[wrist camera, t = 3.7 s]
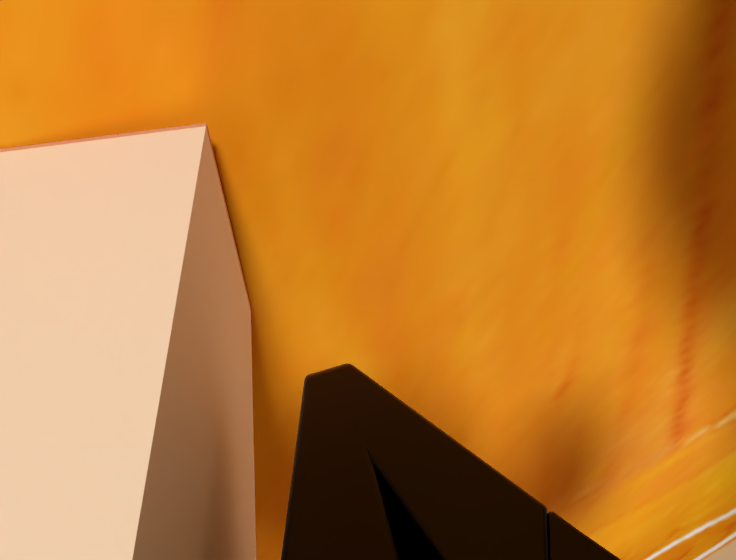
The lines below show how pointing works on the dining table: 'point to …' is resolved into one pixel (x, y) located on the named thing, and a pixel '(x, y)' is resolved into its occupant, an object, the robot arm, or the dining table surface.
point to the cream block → (123, 354)
